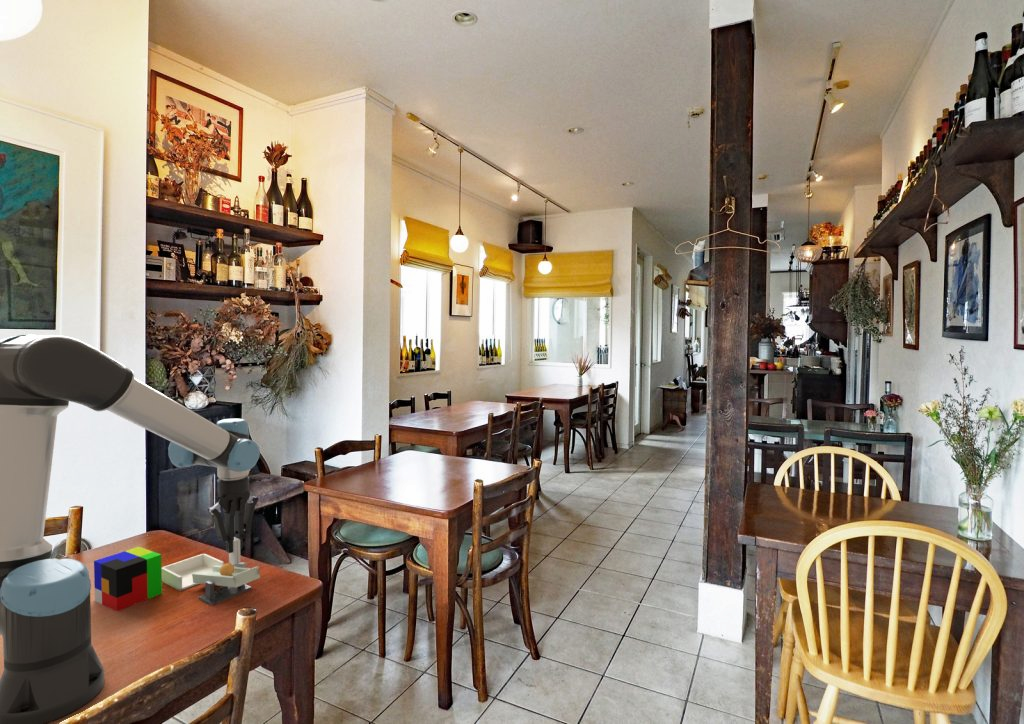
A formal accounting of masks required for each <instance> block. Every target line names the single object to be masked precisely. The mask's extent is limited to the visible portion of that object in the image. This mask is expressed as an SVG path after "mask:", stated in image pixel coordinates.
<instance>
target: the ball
mask: <svg viewBox="0 0 1024 724" xmlns="http://www.w3.org/2000/svg"><path fill="white" fill-rule="evenodd" d="M233 572H234V566H233V565H232V564H231V563H229V562H226V563H224V565H222V567H221V568H220V574H221V575H224V576H230V575H232V574H233Z"/></svg>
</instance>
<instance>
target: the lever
mask: <svg viewBox="0 0 1024 724" xmlns="http://www.w3.org/2000/svg"><path fill="white" fill-rule="evenodd" d="M232 565H233V566H234V572H233V574H232V575H230V576H224V575H221V574H220V568H221V567H222V566H213V571H212V572H210V573H207V574H203V573H193V574H192V578H193V583H200V585H201V584H203V585H205V582H207V581H212V582H214V586H218V587H224V586H227V587H239V586H241V585H244V584H246V585H247V584H248V583H251V582H252V581H253V582H254V581H255V580H258V579H259V580H260V578H261V574H260V568H259V565H257V566H254V567H251V568H250V567H248V565H247V562H243V561H241V563H238V564H236V565H234V564H232Z"/></svg>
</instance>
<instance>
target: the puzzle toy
mask: <svg viewBox="0 0 1024 724" xmlns="http://www.w3.org/2000/svg"><path fill="white" fill-rule="evenodd" d="M162 567H163V566H162V554H161V553H158V552H156V551H152V550H150V549H147V548H144V547H141V546H136V547H134V548H130V549H128V550H125V551H121V552H118V553H116V554H112V555H109V556H105V557H102V558H97V559H96V560H93V574H94V575H93V577H94V581H93V584H94V602H96V603H98V604H100V605H103V606H104V607H106V608H109V609H111V610H114V611H115V612H119V611H122V610H125V609H127V608H130V607H132V606H135V605H137V604H139V603H142V602H144V601H147V600H149V599H151V598H154V597H156V596H159V595H162V594H163V588H162V587H163V584H162V583H163V582H162Z"/></svg>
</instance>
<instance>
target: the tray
mask: <svg viewBox="0 0 1024 724" xmlns="http://www.w3.org/2000/svg"><path fill="white" fill-rule="evenodd" d="M224 564H225V562H224V560H221V559H218V558H216V557H214V556H212V555H210V554H208V553H207V554H206V553H205V552H204V553H201V554H198V555H195V556H192V557H188V558H185V559H183V560H180V561H177V562H174V563H171V564H168V565H164V566H161V567H162V583H164V584H165V585H168V586H170V587H172V588H174V589H175V590H177V591H179V592H182V591H184V590H186V589H190V588H191V587H195V586H197V585H199V584H200V583H193V578H192V574H193V573H203V574H207V573H210V572H212V571H213V566H222V565H224ZM200 585H201V584H200Z"/></svg>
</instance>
